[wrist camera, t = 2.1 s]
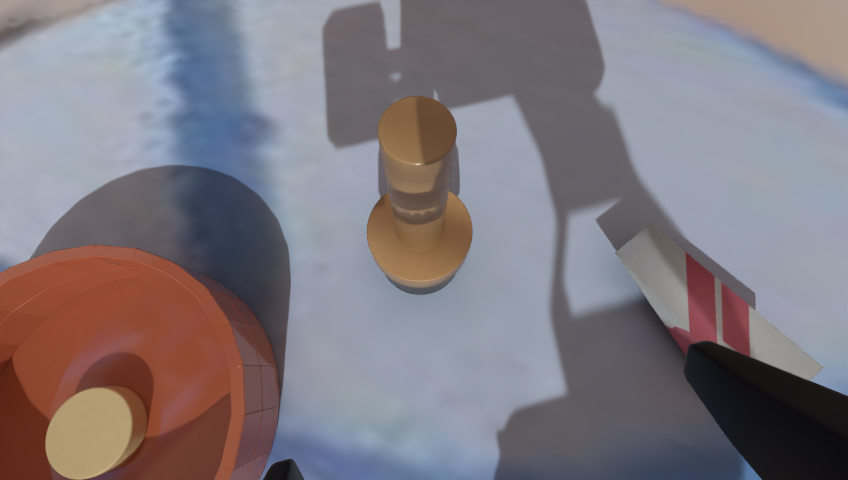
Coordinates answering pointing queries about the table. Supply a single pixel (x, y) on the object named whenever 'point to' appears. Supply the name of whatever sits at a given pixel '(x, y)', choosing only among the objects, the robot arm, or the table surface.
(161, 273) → the terracotta bowl
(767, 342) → the paintbrush
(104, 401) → the biscuit piece
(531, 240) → the table surface
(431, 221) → the dish brush
